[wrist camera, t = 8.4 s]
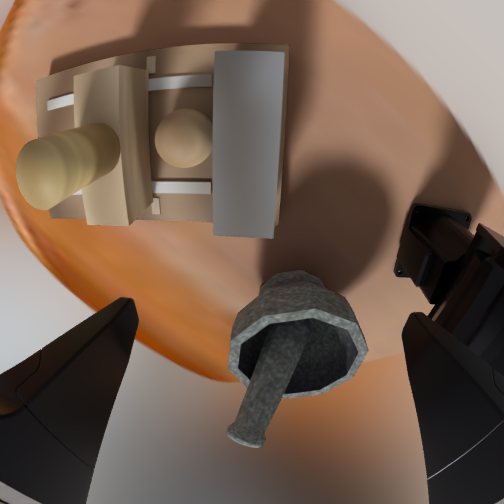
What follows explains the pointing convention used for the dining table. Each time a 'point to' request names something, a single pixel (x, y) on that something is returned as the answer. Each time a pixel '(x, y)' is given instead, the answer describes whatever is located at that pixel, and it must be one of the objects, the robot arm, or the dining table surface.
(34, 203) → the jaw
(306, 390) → the mortar and pestle
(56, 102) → the base
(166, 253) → the dining table surface
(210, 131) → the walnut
